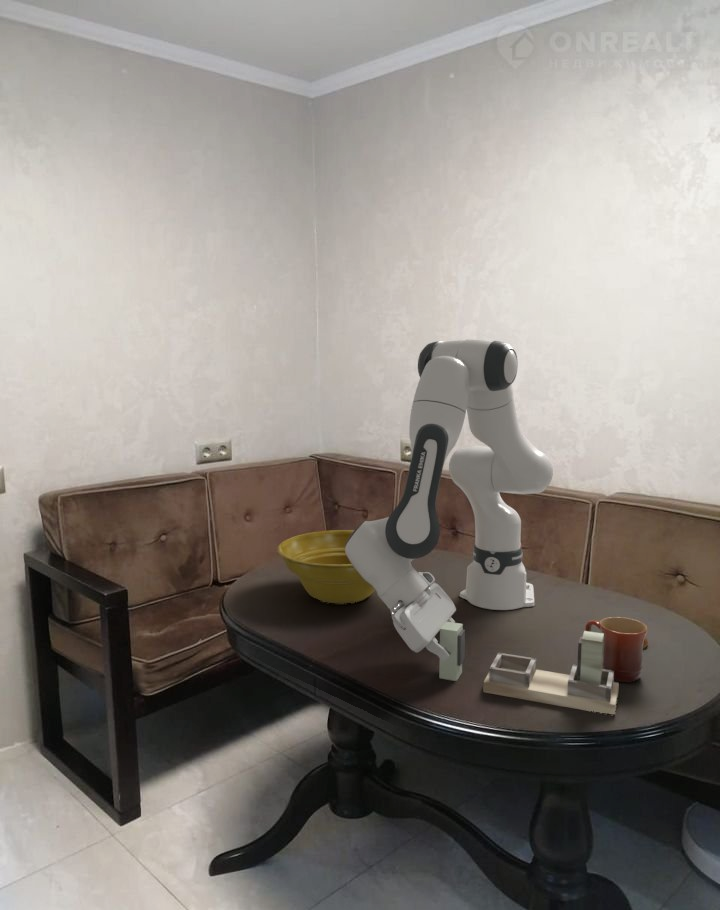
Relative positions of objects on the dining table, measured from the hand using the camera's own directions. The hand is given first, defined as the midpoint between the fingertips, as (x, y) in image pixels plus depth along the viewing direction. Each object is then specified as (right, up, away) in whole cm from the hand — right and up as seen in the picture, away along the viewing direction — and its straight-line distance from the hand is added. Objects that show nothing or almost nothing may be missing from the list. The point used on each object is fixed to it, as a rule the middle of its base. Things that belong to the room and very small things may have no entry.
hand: (454, 649), depth 140 cm
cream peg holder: (+17, -6, -6) cm, 19 cm away
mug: (+31, -5, +2) cm, 32 cm away
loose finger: (0, -5, +1) cm, 5 cm away
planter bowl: (-23, +1, +47) cm, 52 cm away
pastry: (+38, -4, +15) cm, 41 cm away
